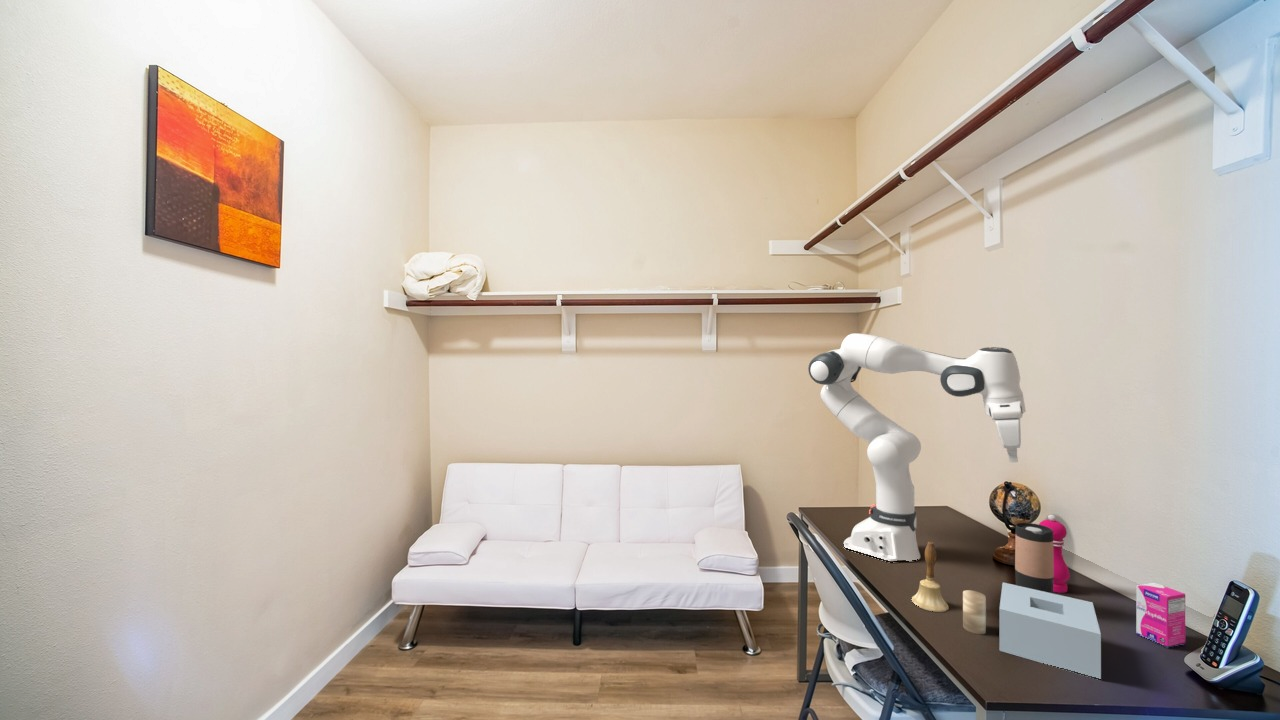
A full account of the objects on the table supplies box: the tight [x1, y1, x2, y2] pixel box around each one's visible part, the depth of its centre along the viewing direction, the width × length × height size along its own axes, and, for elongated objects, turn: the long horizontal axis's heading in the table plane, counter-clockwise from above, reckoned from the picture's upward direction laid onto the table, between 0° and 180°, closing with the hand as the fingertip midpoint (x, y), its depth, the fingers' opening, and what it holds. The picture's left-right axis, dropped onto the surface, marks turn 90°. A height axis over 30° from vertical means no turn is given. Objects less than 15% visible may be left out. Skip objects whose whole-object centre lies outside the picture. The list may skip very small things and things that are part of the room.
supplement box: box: [1135, 581, 1186, 647], centre depth 110 cm, size 6×6×12 cm
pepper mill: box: [1038, 514, 1071, 594], centre depth 135 cm, size 7×7×20 cm
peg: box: [962, 589, 987, 635], centre depth 115 cm, size 4×4×8 cm
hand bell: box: [910, 540, 950, 613], centre depth 126 cm, size 8×8×16 cm
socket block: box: [998, 582, 1102, 680], centre depth 108 cm, size 16×16×9 cm
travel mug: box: [1014, 522, 1054, 594], centre depth 125 cm, size 8×8×20 cm
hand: (1012, 457), depth 133 cm, fingers open, 8 cm apart
